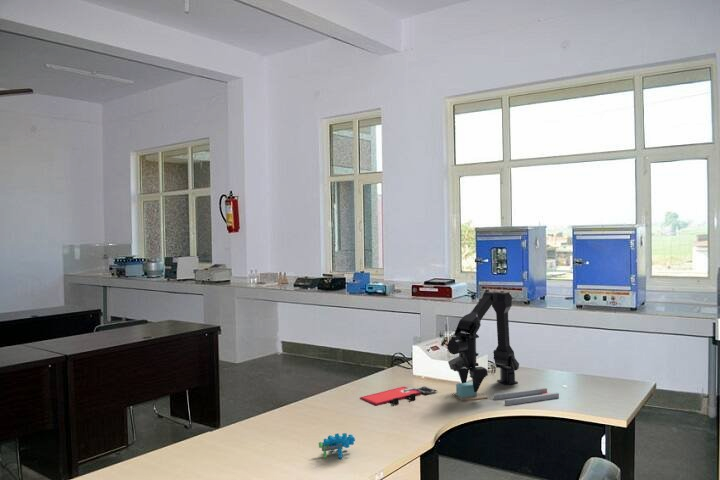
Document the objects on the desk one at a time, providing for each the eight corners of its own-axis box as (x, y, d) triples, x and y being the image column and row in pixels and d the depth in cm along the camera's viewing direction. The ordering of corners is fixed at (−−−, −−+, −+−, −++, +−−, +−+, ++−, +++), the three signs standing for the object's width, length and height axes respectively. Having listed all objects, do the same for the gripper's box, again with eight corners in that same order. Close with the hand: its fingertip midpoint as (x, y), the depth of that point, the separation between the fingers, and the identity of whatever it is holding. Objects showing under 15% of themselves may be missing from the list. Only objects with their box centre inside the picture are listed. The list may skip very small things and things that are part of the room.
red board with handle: (441, 393, 224) (417, 386, 237) (440, 387, 224) (417, 379, 237) (382, 409, 207) (360, 400, 220) (381, 402, 207) (359, 393, 220)
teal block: (456, 395, 220) (456, 383, 220) (471, 393, 222) (471, 382, 222) (461, 397, 216) (461, 386, 216) (476, 395, 219) (476, 384, 218)
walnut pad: (452, 394, 223) (452, 393, 223) (474, 391, 226) (474, 390, 226) (464, 401, 213) (464, 400, 213) (487, 398, 217) (487, 397, 217)
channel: (494, 399, 215) (494, 394, 215) (545, 391, 223) (545, 387, 223) (506, 405, 208) (506, 400, 207) (558, 397, 215) (558, 393, 215)
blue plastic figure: (356, 442, 170) (352, 428, 163) (358, 461, 166) (355, 448, 159) (321, 448, 170) (316, 435, 163) (322, 467, 166) (317, 454, 159)
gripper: (440, 347, 226) (440, 385, 226) (462, 357, 208) (463, 397, 208) (464, 345, 229) (464, 382, 229) (488, 354, 211) (488, 394, 212)
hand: (469, 388), depth 220 cm, fingers open, 9 cm apart
